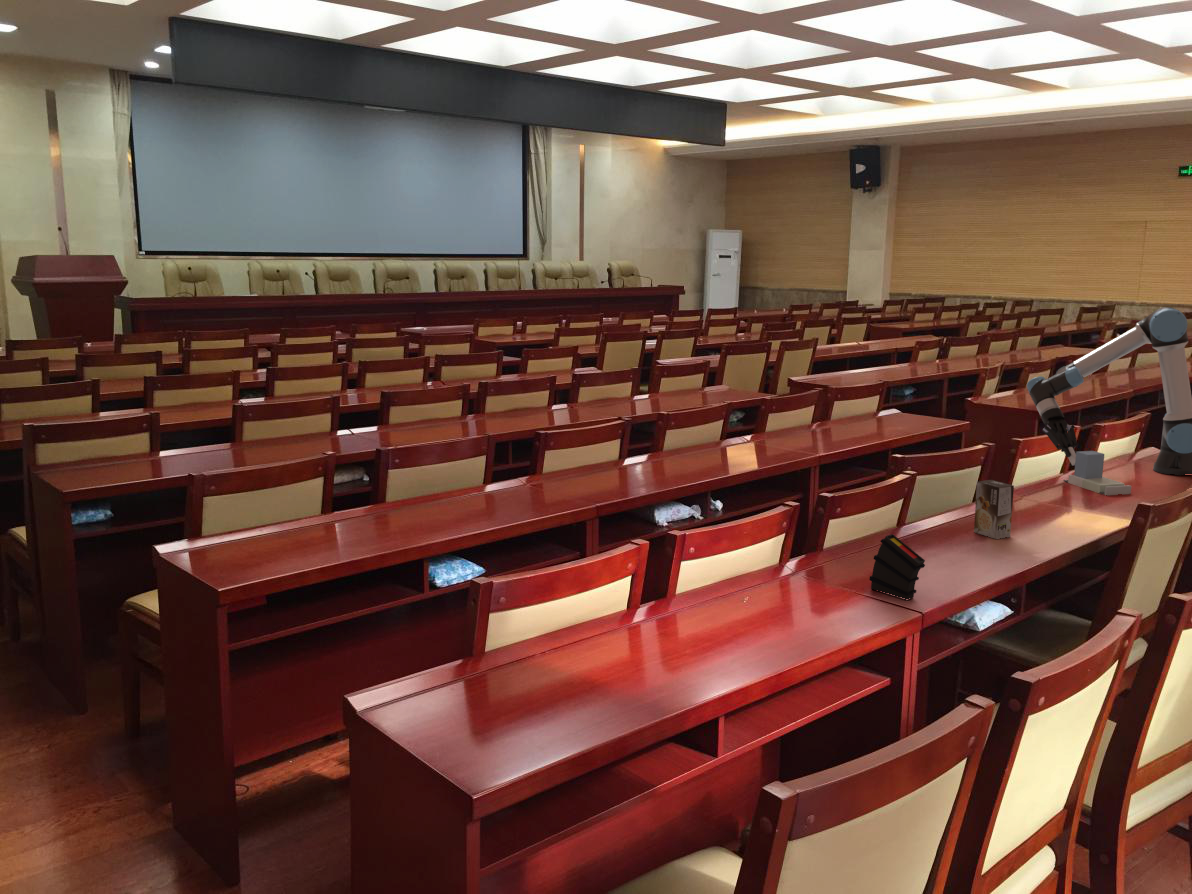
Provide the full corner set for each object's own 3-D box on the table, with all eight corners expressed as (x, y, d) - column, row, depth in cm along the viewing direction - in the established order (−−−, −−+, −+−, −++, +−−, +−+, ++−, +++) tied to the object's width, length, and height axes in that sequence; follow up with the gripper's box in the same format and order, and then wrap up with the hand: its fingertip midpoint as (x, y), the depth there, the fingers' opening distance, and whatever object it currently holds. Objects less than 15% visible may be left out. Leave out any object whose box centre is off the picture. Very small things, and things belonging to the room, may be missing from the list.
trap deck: (1086, 479, 362) (1087, 472, 361) (1130, 493, 340) (1131, 485, 340) (1063, 481, 360) (1064, 473, 359) (1106, 495, 338) (1106, 487, 338)
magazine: (868, 577, 249) (892, 532, 242) (906, 611, 241) (933, 565, 234) (859, 580, 247) (883, 535, 240) (898, 614, 239) (924, 569, 232)
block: (1090, 474, 357) (1092, 450, 356) (1102, 477, 352) (1104, 453, 350) (1074, 475, 356) (1076, 451, 354) (1085, 478, 350) (1087, 454, 348)
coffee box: (1011, 537, 290) (1015, 485, 287) (995, 539, 287) (1000, 487, 284) (987, 529, 298) (991, 479, 295) (972, 532, 295) (976, 481, 292)
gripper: (1060, 417, 377) (1085, 467, 364) (1030, 418, 374) (1055, 469, 362) (1070, 406, 371) (1096, 457, 358) (1040, 407, 368) (1065, 458, 355)
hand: (1075, 463), depth 360 cm, fingers closed
